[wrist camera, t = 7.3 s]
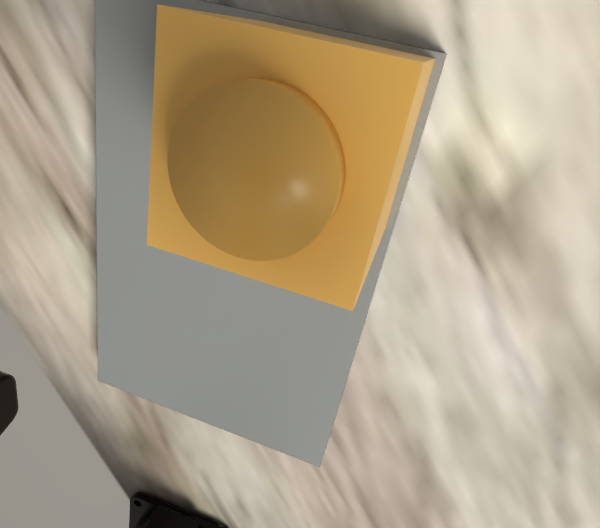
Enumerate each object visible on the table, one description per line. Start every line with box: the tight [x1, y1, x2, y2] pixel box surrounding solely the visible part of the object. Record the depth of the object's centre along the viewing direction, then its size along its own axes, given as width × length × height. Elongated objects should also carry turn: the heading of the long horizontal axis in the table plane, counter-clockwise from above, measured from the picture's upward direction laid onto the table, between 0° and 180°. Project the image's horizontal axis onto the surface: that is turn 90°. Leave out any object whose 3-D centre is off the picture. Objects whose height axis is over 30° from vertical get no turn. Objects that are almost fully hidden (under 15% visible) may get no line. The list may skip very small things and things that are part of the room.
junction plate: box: [95, 0, 447, 467], centre depth 18 cm, size 18×12×5 cm, turn 169°
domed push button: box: [147, 4, 435, 311], centre depth 13 cm, size 6×6×7 cm
